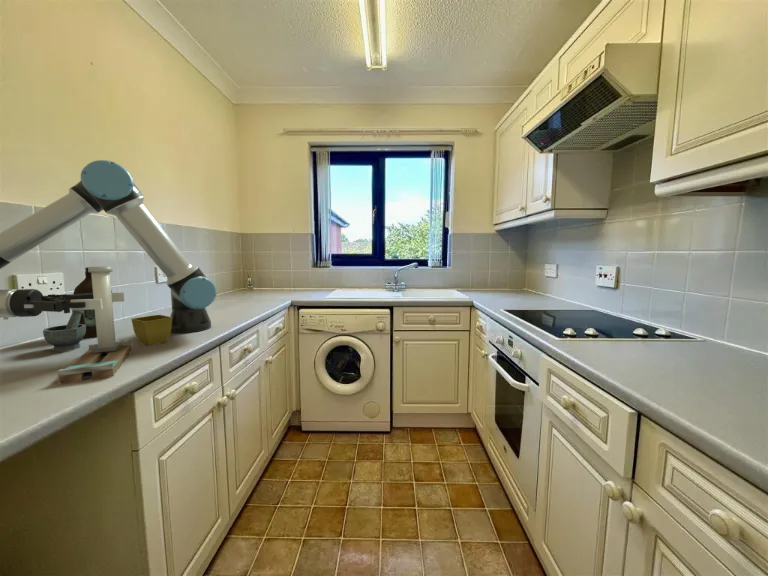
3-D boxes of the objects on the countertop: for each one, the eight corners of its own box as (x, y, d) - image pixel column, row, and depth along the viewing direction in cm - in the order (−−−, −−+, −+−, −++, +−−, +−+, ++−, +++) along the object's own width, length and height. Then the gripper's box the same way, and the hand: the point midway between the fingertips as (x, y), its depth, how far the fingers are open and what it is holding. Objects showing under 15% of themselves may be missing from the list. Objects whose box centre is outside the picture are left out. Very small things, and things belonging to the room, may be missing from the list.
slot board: (132, 350, 102) (131, 340, 101) (113, 376, 81) (112, 364, 80) (90, 354, 97) (89, 344, 96) (59, 383, 76) (57, 370, 76)
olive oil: (76, 334, 120) (70, 267, 117) (113, 329, 127) (108, 266, 124) (78, 340, 112) (71, 268, 109) (117, 334, 120) (111, 267, 117)
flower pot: (161, 338, 115) (159, 314, 114) (174, 342, 111) (172, 316, 110) (132, 344, 108) (130, 318, 107) (145, 349, 103) (143, 321, 102)
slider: (120, 345, 99) (113, 266, 96) (116, 350, 94) (109, 267, 91) (98, 348, 96) (91, 266, 93) (93, 353, 92) (85, 267, 89)
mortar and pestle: (68, 353, 98) (64, 314, 97) (36, 353, 97) (31, 314, 96) (98, 342, 109) (95, 308, 108) (69, 343, 109) (66, 308, 107)
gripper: (49, 308, 99) (131, 305, 106) (-20, 327, 76) (91, 321, 83) (46, 284, 99) (130, 283, 105) (-24, 295, 75) (89, 292, 82)
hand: (113, 300), depth 94 cm, fingers open, 13 cm apart
